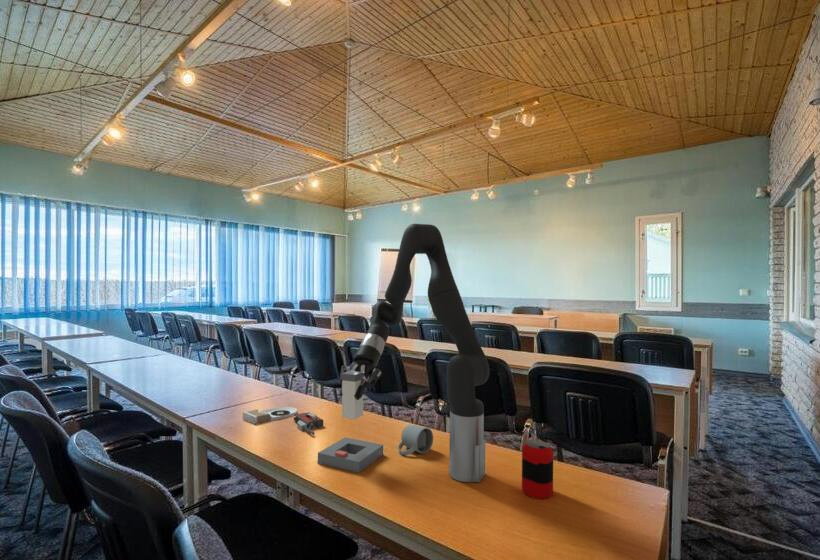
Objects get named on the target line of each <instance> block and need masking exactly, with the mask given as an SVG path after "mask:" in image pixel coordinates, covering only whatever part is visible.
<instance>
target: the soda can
mask: <svg viewBox="0 0 820 560" xmlns="http://www.w3.org/2000/svg"><path fill="white" fill-rule="evenodd" d="M521 490H522V492H523V493H524V494H525V495H527V496H528V497H530V498H533V497H534V498H533V499H537V498H540V499H539V500H545V499H544V498H547V499H549V498H551V497H552V496H553V494H554V450H553V449H552V447H551V446H550V444H549V443H548V442H546V441H542V440H538V439H537V440H536V439H533V440H528V441H526V442H525V444H524V445H523V446H522V449H521Z"/></svg>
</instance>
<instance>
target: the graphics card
mask: <svg viewBox="0 0 820 560" xmlns="http://www.w3.org/2000/svg"><path fill="white" fill-rule="evenodd" d="M295 414H296V415H297V414H298V409H297V408H296V407H293V406H292V407H291V406H279V407H278V406H277V407H273V408H268V409H263V410H260V411H259V410H258V409H253V410H248V411H244V412H242V420H243V419H244V420H243V421H246V422H248V421H249V422H248V423H250V422H251V423H250V424H252V423H253V424H252V425H258V423H259V424H262V422H263V423H266V421H267V422H269V421H270V420H272V421H278V419H279V420H283V419H285V418H286V417H287V418H290V416H291V417H293V416H294V417H295V416H296V415H295ZM282 418H283V419H282Z"/></svg>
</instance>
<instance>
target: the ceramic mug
mask: <svg viewBox="0 0 820 560" xmlns="http://www.w3.org/2000/svg"><path fill="white" fill-rule="evenodd" d="M400 440H401V442H399V444H398V446H397V450H398V452H399V454H400V455H401V456H409V455H411V454H413V453H414V452H417V453H419V454H426V453H428V452H429V451H430V450H431V448H432V447H433V444H434V433H433V431H432V429H431V428H429V427H428V426H427V427H426V426H423V425H422V426H421V425H418V424H417V425H416V424H408V425H406V426H405V427H404V428H403V429H402V433H401V439H400ZM404 446H405V447H406V448H407V449H406V450H402V448H403V447H404Z"/></svg>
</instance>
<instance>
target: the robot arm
mask: <svg viewBox="0 0 820 560" xmlns="http://www.w3.org/2000/svg"><path fill="white" fill-rule="evenodd" d="M400 241H401V242H400V244H399V245H400V246H399V248H398V253H397V257H396V262H395V266H394V270H393V273H392V276H391V279H390V282H389V283H388V286H387V288H386V290H385V293H384V299H385V300H386V301H385V300H378V301H376V303H374V305H373V307H372V312H371V313H372V314H371V320H370V325H369V327H368V330H367V332H366V334H365V336H364V338H363V339H362V340H361V343H360V345H359V347H358V349H357V351H356V353H355V355H354V356H353V361H352V363H350V365H349V366H346V365H345V364H342V365H341V368H340V374H339V378H338V380H339V382H340V384H342V373H345V372H348V371H359V372H364V374H363V376H362V380H361V382H360V386H359V387H358V389H357V391H356V393H355V395H354V397H355V398H356V400H359V399H360V398H361V397H362V395H363V396H364V393H365V391H366V390H367V389H372V388H373V387H374V386H375V384H376V383H377V382H378V380H379V379H380V378H381V376H382V375H383V373H382V371H381V369H379V368H378V367H377V366H378V364H379V360H380V359H381V356H382V354H383V352H384V349H385V345H386V343H387V341H388V338H389V337H390V332H391V329H390V328H389V326H390V327H397V326H398V325H400V323H401V321H402V318H403V313H404V312H403V309H404V303H405V301H406V299H407V296H408V294H409V291H410V290H411V287H412V282H413V281H412V279H413V278H412V271H411V264H412V261H413V258H415V255H426V257H427V259H428V262H429V266H430V270H431V271H430V278H429V282H428V287H427V298H428V301H429V304H430V307H431V311H432V313H433V315H434V317H435V319H436V320H437V322H438V323H439V324H440V325H441V327H443V329H444V330H445V331H446V332H447V333H448V334H449V336H450V338H452V340H453V343H454V344H455V346H456V349H457V350H458V351H457V352H458V354H456V355H453V356H452V357H451V358H450V359H449V361H448V363H447V366H446V393H447V394H446V395H447V400H448V404H449V459H448V460H449V463H448V464H449V466H448V467H449V476H450V477H451V478H452V479H454V480H456V481H458V482H464V483H480V482H481V481H482V480H483V478H484V477H485V475H486V439H485V438H484V429H485V428H484V427H485V426H484V424H485V423H484V420H485V419H484V417H485V416H484V415H485V413H484V412H485V411H484V410H485V407H484V403H483V401H482V400H480V399H479V398H476V391H475V390H476V389H475V388H476V387H478V386H481V385H484V384H485V383H487V381H488V379H489V378H490V373H491V372H490V366H489V365H490V364H489V361H488V359H487V356H486V355H485V353H484V350H483V349H482V346H481V344H480V342H479V340H478V338H477V336H476V334H475V331H474V329H473V326H472V324H471V321H470V318H469V316H468V314H467V313H468V312H467V311H466V308H465V305H464V302H463V299H462V296H461V293H460V291H459V288H458V286H457V284H456V280H455V278H454V275H453V272H452V269H451V266H450V262H449V260H448V255H447V251H446V247H445V243H444V240H443V236H442V233H441V231H440V230H439V228H438V227H437V226H436V225H434V224H430V223H429V224H428V223H427V224H426V223H411V224H409V225H407V226H406V228H405V229H404V231H403V234H402V237H401V240H400ZM339 396H340V398H342V387H341V388H340V390H339Z"/></svg>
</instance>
